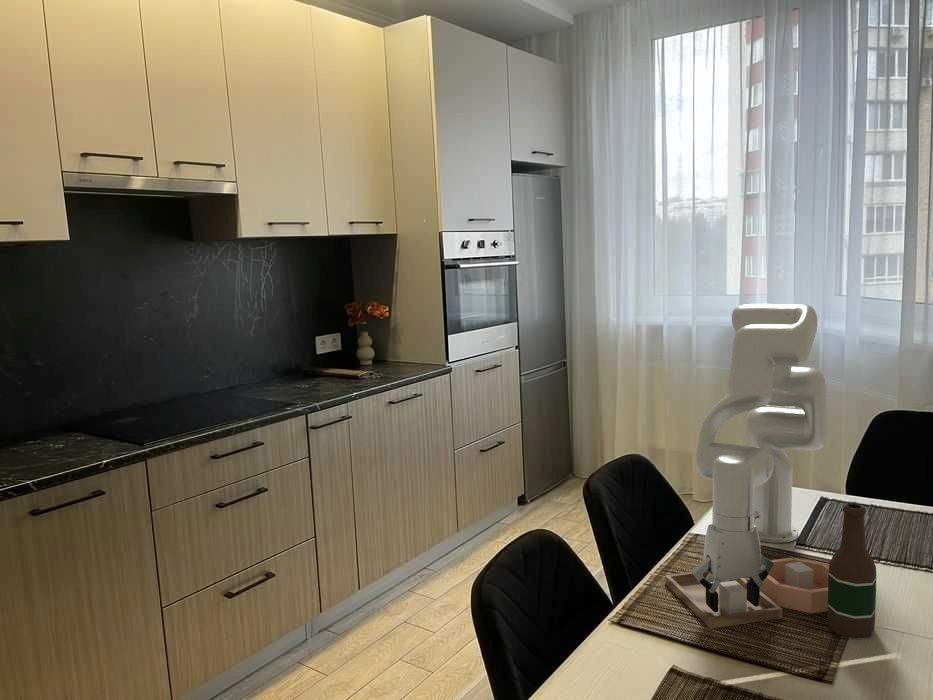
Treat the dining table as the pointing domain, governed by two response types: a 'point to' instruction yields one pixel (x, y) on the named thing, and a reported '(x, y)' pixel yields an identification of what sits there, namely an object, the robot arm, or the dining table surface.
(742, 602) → the white sharp-edged block
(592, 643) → the dining table surface
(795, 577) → the off-white matte cube
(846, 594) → the beer bottle
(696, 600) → the walnut tray
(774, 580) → the bowl
